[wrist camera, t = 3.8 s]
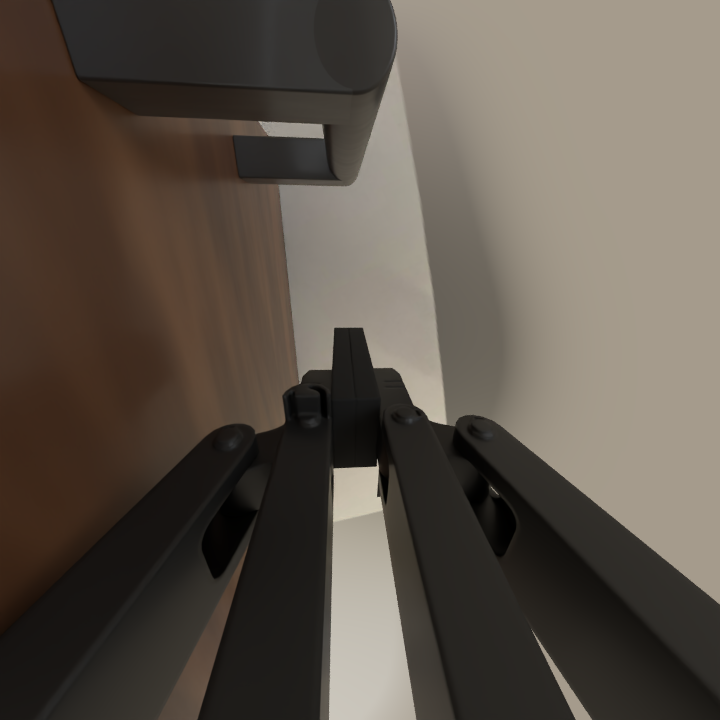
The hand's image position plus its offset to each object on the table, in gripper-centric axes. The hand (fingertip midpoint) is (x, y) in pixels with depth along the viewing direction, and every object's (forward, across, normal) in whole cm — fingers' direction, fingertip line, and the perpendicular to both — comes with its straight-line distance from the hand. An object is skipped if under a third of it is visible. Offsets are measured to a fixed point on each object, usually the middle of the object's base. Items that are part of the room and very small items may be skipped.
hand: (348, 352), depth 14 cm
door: (+12, -3, -1) cm, 13 cm away
